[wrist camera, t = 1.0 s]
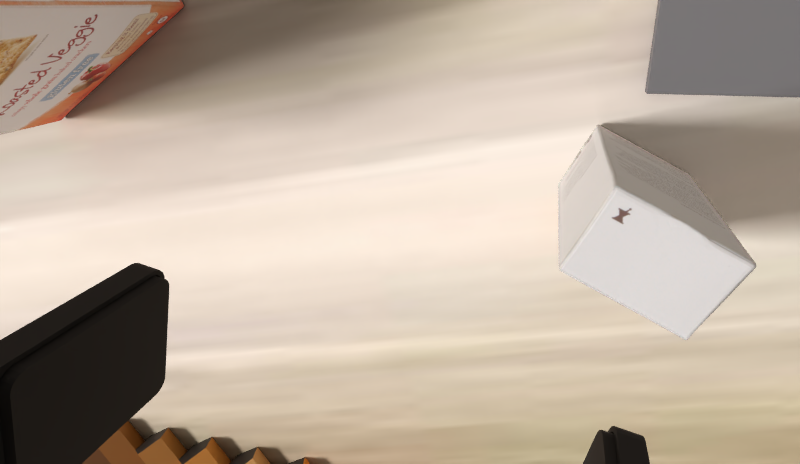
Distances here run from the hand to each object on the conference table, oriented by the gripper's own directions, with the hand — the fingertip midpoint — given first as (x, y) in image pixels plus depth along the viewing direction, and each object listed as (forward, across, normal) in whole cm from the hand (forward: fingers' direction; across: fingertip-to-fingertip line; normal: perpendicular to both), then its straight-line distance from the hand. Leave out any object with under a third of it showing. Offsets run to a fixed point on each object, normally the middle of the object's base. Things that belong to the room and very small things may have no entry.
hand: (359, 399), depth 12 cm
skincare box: (+25, -8, 0) cm, 26 cm away
